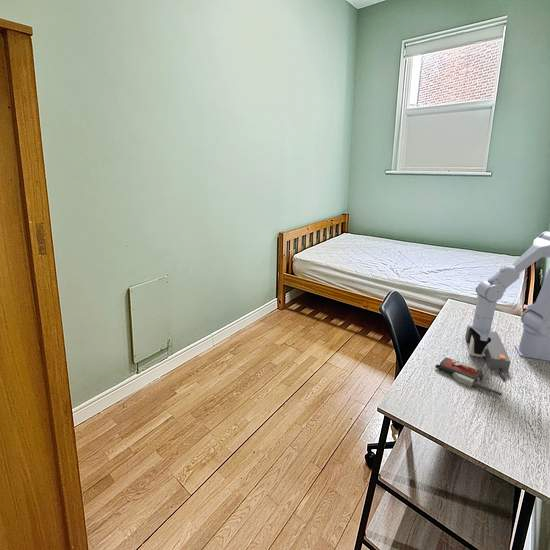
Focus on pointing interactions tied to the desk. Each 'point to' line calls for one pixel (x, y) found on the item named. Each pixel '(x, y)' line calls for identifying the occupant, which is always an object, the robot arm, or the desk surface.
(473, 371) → the walkie-talkie
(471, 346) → the block
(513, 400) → the desk surface
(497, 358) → the grey slotted block
